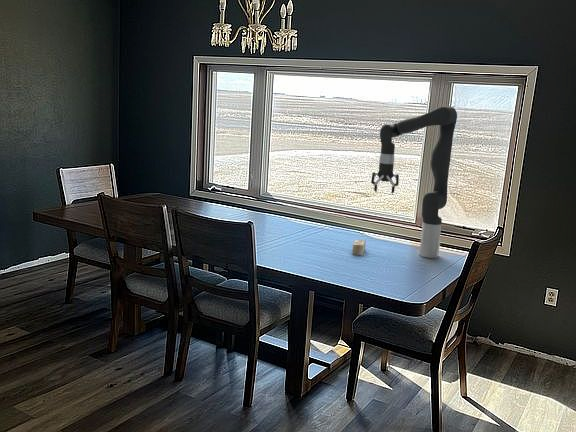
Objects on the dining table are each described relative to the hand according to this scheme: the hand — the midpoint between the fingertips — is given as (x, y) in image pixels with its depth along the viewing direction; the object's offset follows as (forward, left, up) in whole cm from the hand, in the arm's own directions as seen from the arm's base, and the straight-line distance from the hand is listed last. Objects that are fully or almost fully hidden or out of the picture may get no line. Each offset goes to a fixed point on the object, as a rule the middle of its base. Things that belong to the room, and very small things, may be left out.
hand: (383, 192), depth 313 cm
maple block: (+4, +28, -26) cm, 38 cm away
